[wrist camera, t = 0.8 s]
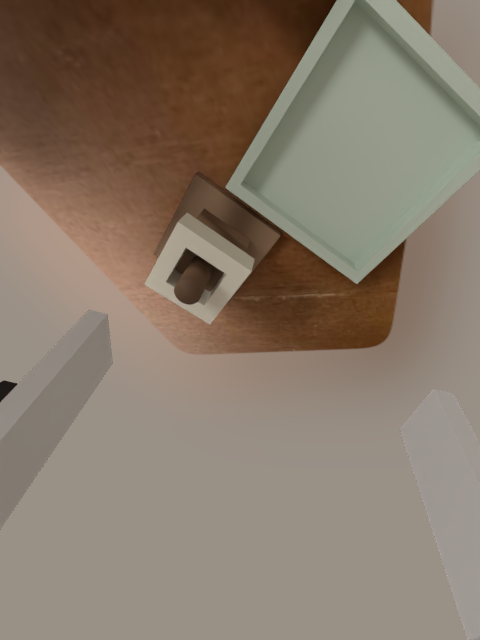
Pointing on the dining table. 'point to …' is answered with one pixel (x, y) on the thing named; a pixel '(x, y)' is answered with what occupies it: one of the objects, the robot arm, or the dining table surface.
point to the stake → (226, 221)
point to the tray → (363, 138)
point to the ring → (210, 249)
